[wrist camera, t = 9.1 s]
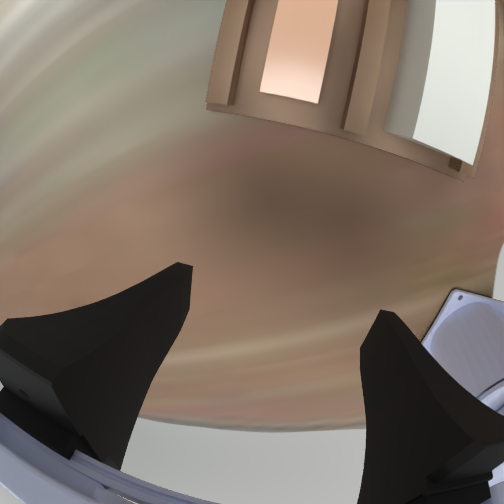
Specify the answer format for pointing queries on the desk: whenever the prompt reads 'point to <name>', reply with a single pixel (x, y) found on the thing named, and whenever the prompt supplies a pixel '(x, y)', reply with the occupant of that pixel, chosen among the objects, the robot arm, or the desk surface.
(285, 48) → the terracotta strip
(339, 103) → the walnut drying rack
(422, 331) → the desk surface
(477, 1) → the strip
